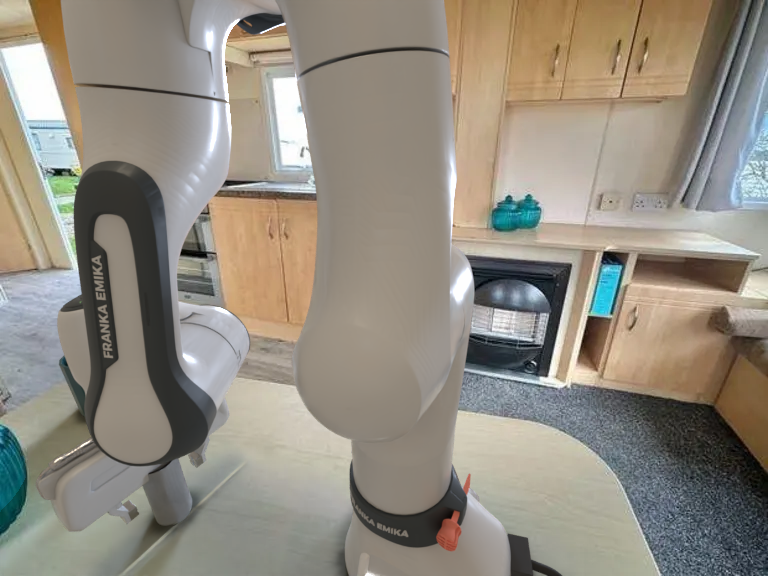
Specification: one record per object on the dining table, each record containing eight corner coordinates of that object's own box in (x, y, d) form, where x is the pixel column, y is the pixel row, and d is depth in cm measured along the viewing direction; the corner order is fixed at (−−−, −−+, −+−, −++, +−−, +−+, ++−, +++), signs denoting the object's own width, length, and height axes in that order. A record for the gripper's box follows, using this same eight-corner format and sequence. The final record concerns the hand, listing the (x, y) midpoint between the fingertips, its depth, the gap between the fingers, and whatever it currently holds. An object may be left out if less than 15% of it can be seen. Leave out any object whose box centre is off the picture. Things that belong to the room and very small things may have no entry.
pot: (147, 397, 72) (130, 347, 67) (96, 427, 64) (73, 373, 60) (124, 383, 76) (106, 335, 71) (73, 409, 69) (49, 358, 64)
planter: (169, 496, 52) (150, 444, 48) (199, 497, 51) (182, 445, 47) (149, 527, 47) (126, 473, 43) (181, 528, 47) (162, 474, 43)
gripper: (41, 489, 33) (89, 575, 38) (227, 374, 49) (242, 446, 55) (16, 460, 36) (64, 544, 41) (199, 360, 52) (216, 430, 58)
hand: (167, 487), depth 48 cm, fingers open, 8 cm apart
